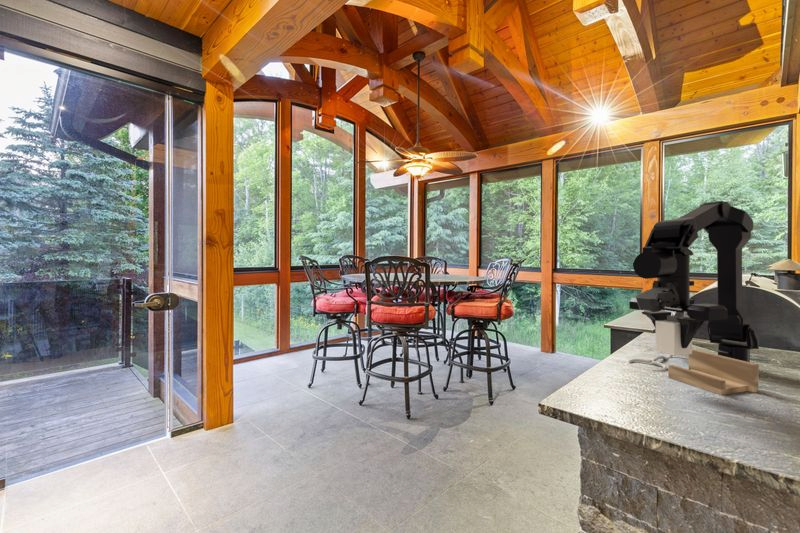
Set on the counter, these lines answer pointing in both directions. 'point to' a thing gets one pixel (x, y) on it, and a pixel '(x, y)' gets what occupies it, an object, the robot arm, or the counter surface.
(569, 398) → the counter surface
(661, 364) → the hook
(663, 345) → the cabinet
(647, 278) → the robot arm
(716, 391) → the board
